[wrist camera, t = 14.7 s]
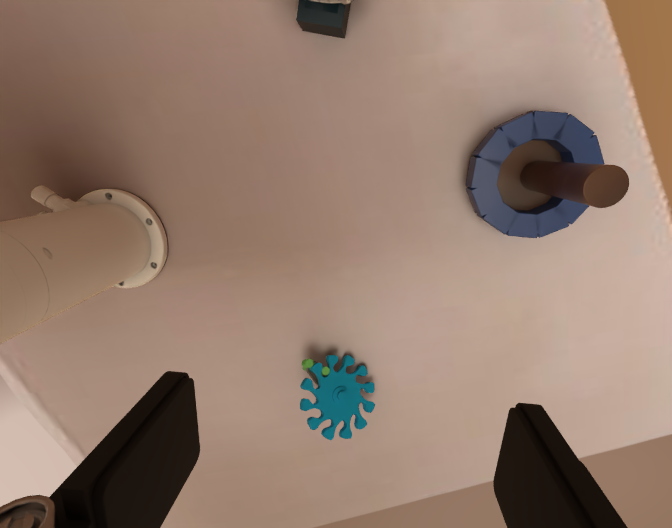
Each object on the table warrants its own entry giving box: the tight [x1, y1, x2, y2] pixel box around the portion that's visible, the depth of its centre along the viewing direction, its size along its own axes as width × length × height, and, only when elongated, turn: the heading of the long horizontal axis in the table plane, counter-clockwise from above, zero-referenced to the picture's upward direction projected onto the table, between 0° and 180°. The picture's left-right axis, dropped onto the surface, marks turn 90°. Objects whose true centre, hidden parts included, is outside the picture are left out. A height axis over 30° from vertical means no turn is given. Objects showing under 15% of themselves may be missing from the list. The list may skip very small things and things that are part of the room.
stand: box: [497, 111, 629, 211], centre depth 32 cm, size 9×9×13 cm
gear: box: [300, 355, 375, 440], centre depth 46 cm, size 11×6×10 cm
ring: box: [466, 111, 604, 238], centre depth 36 cm, size 12×12×2 cm
